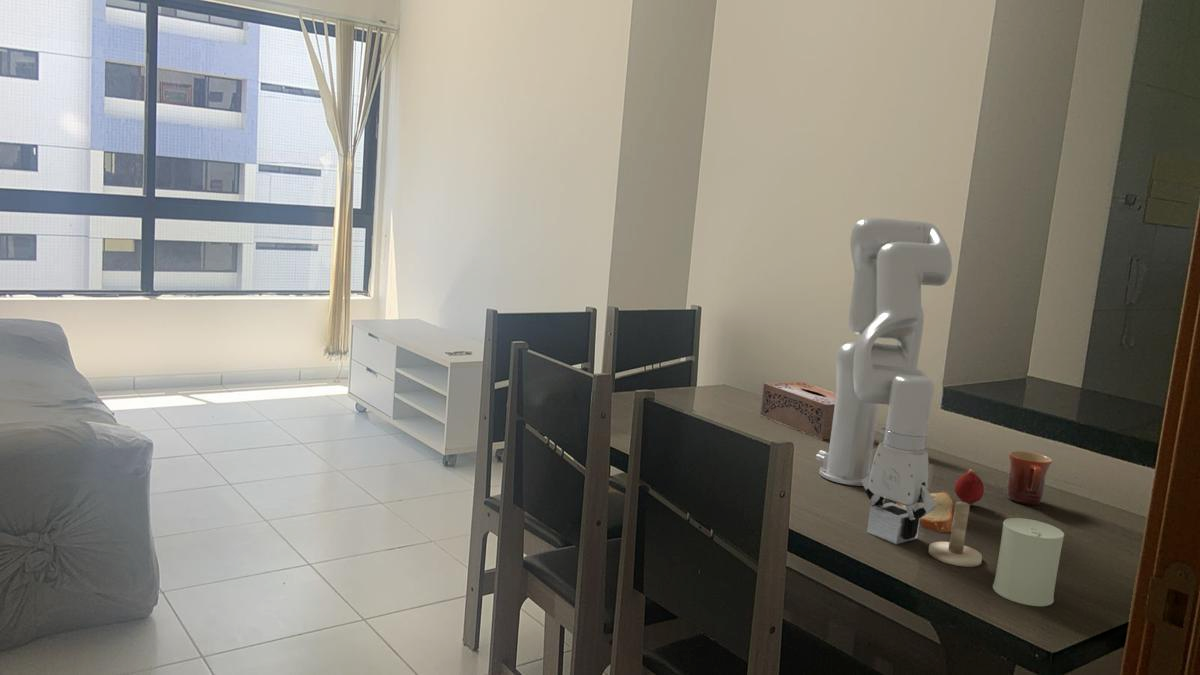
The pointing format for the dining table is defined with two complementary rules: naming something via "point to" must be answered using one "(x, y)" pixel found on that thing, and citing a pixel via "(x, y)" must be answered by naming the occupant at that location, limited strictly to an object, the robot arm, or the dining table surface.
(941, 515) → the bread slice
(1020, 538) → the can
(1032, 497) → the mug
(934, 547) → the peg on disc base
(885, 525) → the collar
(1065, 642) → the dining table surface
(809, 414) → the tissue box cover
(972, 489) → the onion
